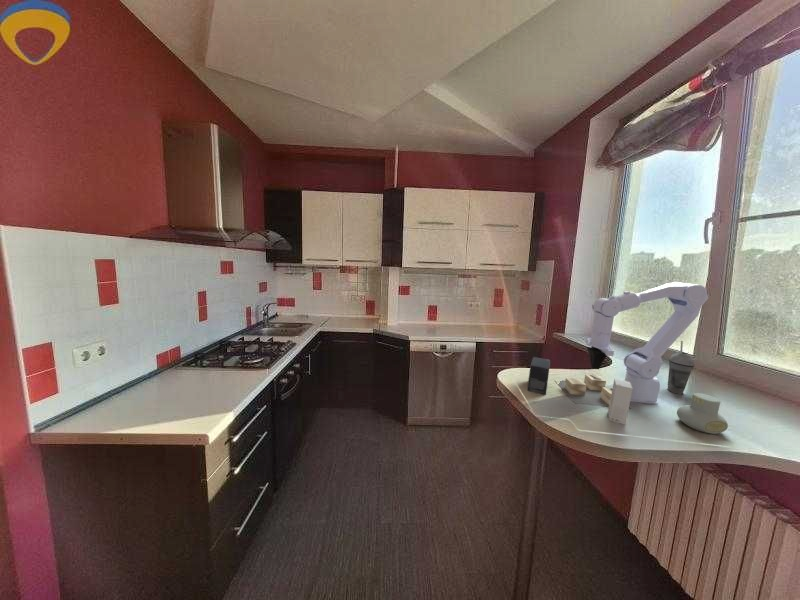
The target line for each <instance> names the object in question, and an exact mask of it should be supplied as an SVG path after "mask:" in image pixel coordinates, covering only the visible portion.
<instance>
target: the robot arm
mask: <svg viewBox="0 0 800 600" xmlns="http://www.w3.org/2000/svg"><path fill="white" fill-rule="evenodd" d="M664 298H667V299H668V301H669V302H670V304H671V305H672V307H673V309H674V312H673V313H672V314H671V316H669V318H668V319H667V320H666V321H665V322H664V324H662V326H660V328H658V329H657V331H656V332H655V333H654V335H653V336H652V337H651V338H650V339H649V340H648V341H647V342H646V344H645V345H643V346H642V347H637V348H635V349H634V350H633V351H632V352H630V353H627V354H626V355H625V357H624V358H623V364H624V366H625V368H626V369H625V370H626V372H625V377H624V381H628V382H630V383H631V386H632V388H633V389H632V394H631V399H630V402H636V403H645V404H656V405H659V402H658V398H659V393H660V390H661V389H660V388H661V384H660V380H659V378H657V377H656V376H658V375H659V373H660V369H661V367H663V365H664V362H663V359H662V356H663V355H664V354H665V353H666V352H667V350H669V348H670V347H671V346H672V345H673V344H674V343H675V342H676V341H677V339H679V337H681V335H682V334H683V333H684V332H685V331H686V329H688V327H689V326H691V324H692V323H693V322H694V321H695V320H696V318H697V317H698V316H699V314H700V312H701V309H702V306H703V305H704V304H705V303H706V302H707V301H708V300H709V295H708V291H707V288H706V287H705V286H704V285H702V284H694V283H686V282H681V281H672V282H669V283H668V282H667V283H665V284H663V285H659V286H657V287H653V288H649V289H647V290H644V291H640V292H638V293H636V292H634V291H629V290H626V291H623V293H621V294H618V295H609V296H608V297H606V298H605V297H600V298H598V299H596V300H595V301H594V303H593V304H592V305H591V306H592V307H591V308H592V311H594V315H593V321H592V328H591V333H590V337H586V338H585V345H587V346H588V347H587V348H586V350H587V351H588V352H587V353H588V354H589V359H590V360H589V362H590V368H591V369H595V370H599V369H600V368H601V366H602V364H603V362H604V361H605V360H606V358H607V357H614V353H615V350H614V349H612V347H611V346H610V341H611V336H612V331H613V330H612V329H613V324H614V321H615V320H614V319H615V318H614V317H616V316H617V315H618V314H619V313H621V312H624V311H628V310H632V309H636V308H638V307H639V306H640V305H641V304H642V303H645V302H651V301H655V300H659V299H664Z"/></svg>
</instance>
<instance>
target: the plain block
mask: <svg viewBox="0 0 800 600" xmlns="http://www.w3.org/2000/svg"><path fill="white" fill-rule="evenodd" d="M564 381H565V387H564V388H565V389H566V390H567V391H568V392H569V393H570V394H576V395H585V392H586V386H587V385H586V384H585V383H584V381H583V380H581V379H580V378H572V377H565V380H564Z"/></svg>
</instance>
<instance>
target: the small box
mask: <svg viewBox="0 0 800 600" xmlns="http://www.w3.org/2000/svg"><path fill="white" fill-rule="evenodd" d="M550 366H551V360H550V359H547V358H541V357H536V356H533V357H532V359H531V363H530V368H529V372H528V373H529V374H528V382H527V391H528V392H531V393H535V394H540V395H543V396H546V395H547V390H548V383H549V382H548V381H549V373H550Z"/></svg>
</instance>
